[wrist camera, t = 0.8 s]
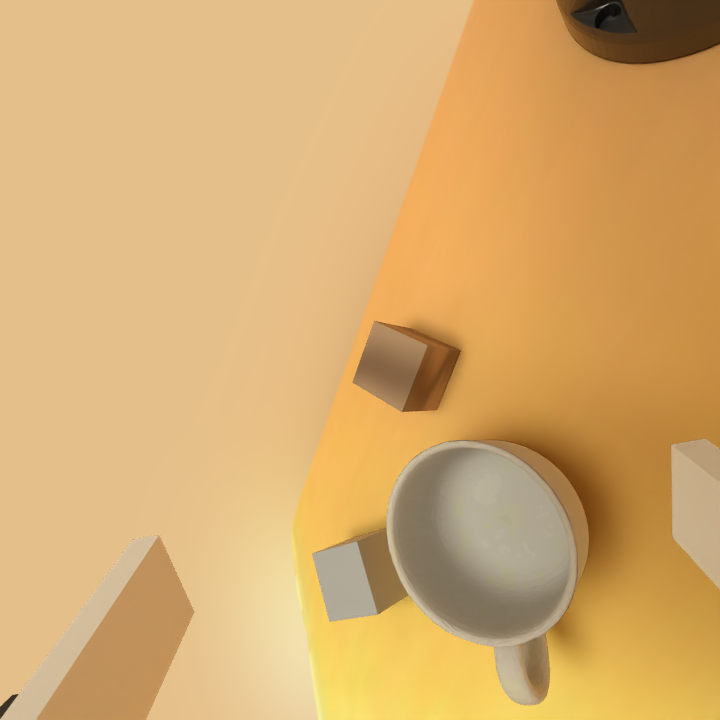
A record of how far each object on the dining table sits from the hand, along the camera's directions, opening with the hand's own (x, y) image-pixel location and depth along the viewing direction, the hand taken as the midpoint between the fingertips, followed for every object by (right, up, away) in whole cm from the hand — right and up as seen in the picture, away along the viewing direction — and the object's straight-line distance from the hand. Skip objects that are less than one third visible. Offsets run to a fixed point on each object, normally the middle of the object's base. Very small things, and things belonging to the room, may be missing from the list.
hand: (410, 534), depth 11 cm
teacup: (+10, -7, +19) cm, 22 cm away
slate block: (+1, -13, +26) cm, 28 cm away
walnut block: (+4, +4, +24) cm, 25 cm away
